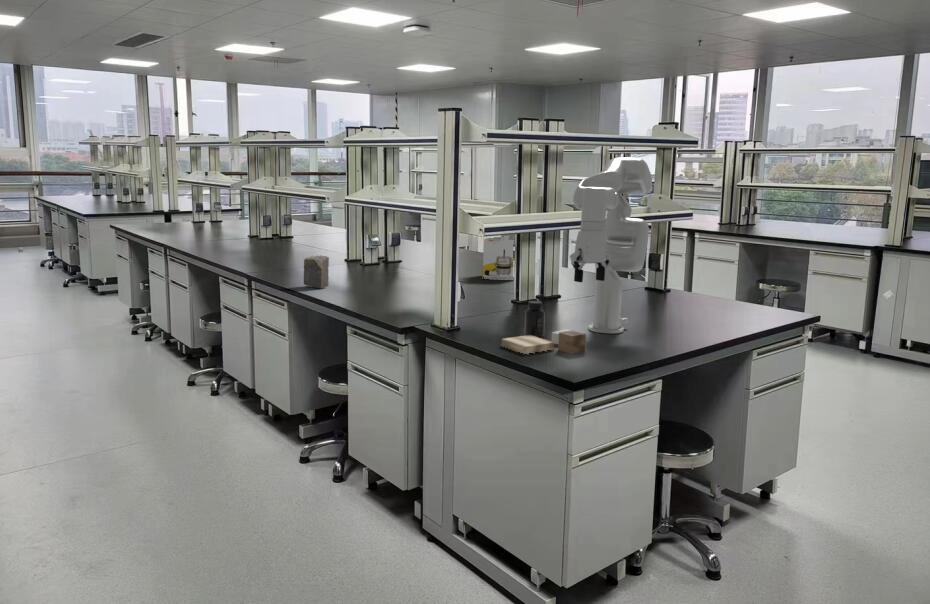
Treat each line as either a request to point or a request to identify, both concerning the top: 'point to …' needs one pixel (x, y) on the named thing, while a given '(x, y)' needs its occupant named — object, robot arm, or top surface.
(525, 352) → the oak block
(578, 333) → the walnut cube
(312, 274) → the geological specimen
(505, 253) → the packaging box
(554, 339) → the grey plastic block
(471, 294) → the top surface
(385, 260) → the top surface
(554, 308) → the top surface
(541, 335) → the supplement bottle
